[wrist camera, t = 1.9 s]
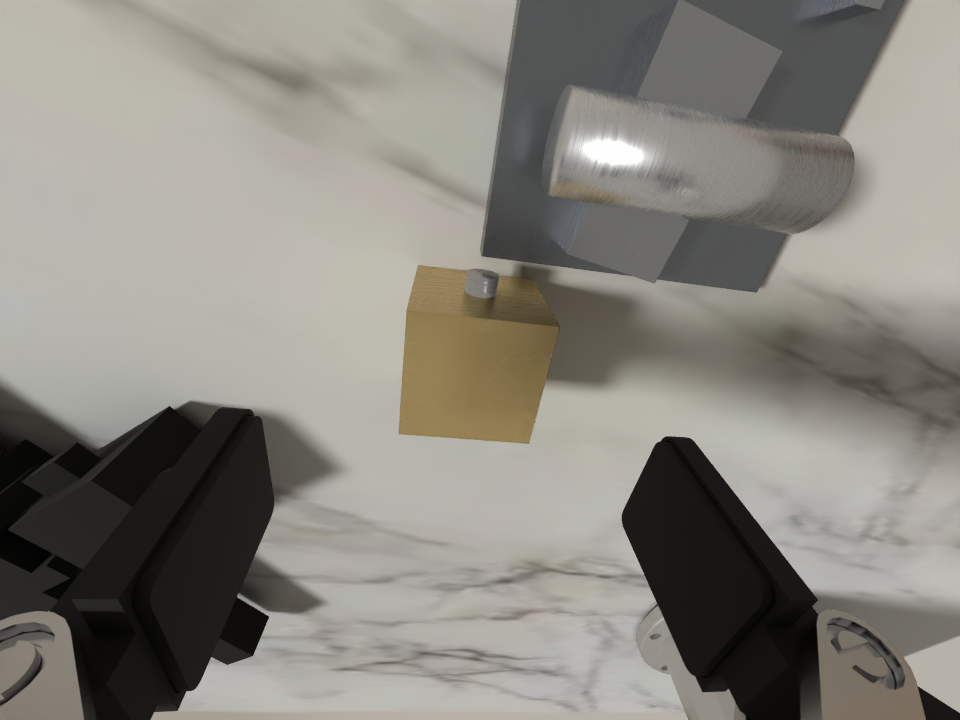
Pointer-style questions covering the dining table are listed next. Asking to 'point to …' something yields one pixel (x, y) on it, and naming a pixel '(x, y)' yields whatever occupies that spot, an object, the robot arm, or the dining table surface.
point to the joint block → (474, 355)
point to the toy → (89, 518)
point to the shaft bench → (675, 132)
